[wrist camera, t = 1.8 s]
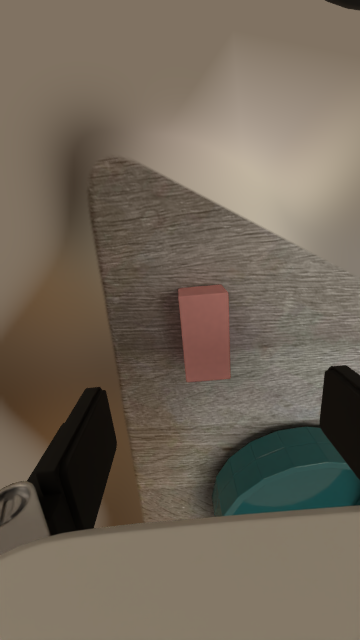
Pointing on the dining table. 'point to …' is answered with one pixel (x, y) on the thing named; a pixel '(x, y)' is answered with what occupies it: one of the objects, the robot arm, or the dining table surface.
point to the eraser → (205, 332)
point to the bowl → (285, 475)
